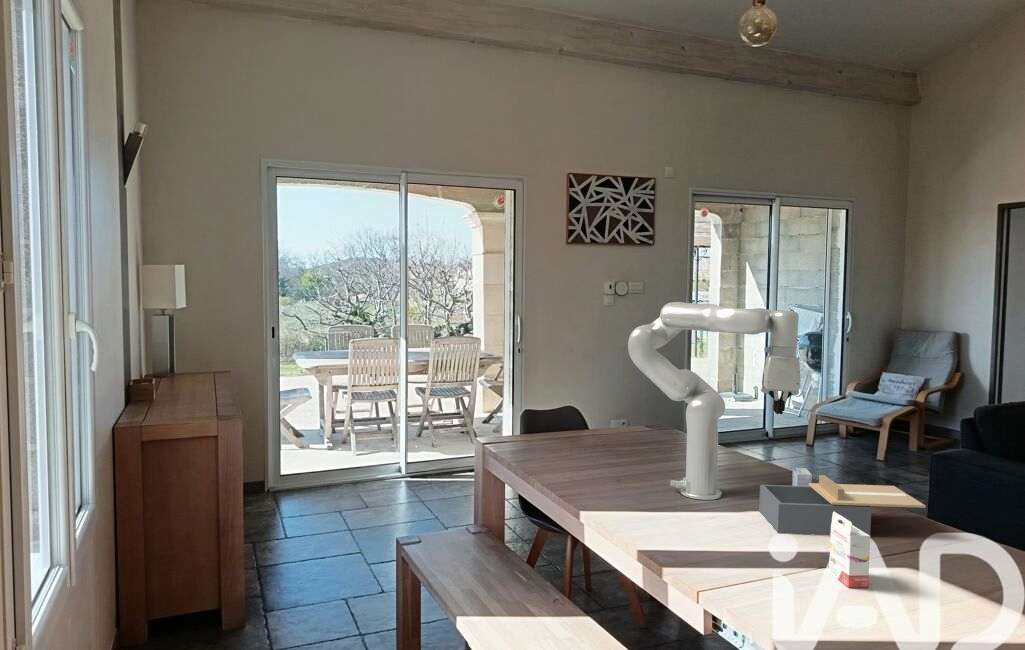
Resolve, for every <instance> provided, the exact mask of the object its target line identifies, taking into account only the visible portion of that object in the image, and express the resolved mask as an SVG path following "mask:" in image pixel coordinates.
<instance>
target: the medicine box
mask: <svg viewBox="0 0 1025 650" xmlns="http://www.w3.org/2000/svg"><path fill="white" fill-rule="evenodd" d="M791 475H792V478H791V479H792V483H791V484H792V485H791V486H809V483H813V474H812V473H811V472H810V471H809V470H808V469H807V468H806V467H792V474H791Z"/></svg>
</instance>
